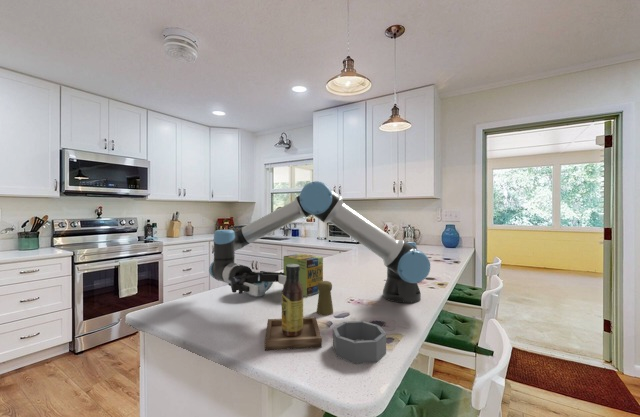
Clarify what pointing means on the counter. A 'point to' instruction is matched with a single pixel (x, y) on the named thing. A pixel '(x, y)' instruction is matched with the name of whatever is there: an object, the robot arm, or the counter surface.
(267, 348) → the tray
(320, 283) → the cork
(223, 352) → the counter surface
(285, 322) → the sauce bottle
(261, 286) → the chinaware
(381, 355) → the holder cup
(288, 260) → the protein box
